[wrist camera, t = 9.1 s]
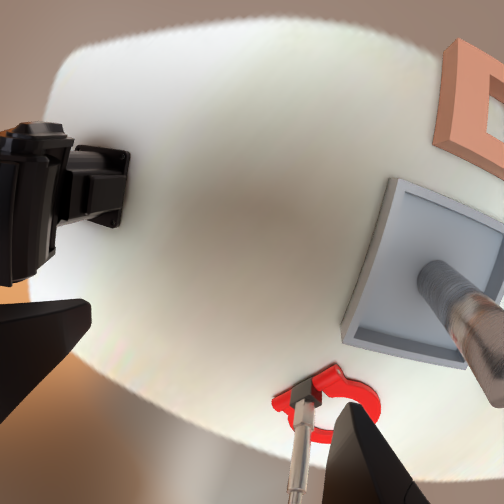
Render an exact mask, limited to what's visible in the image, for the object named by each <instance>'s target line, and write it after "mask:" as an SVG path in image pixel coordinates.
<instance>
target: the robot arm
mask: <svg viewBox="0 0 504 504" xmlns="http://www.w3.org/2000/svg"><path fill="white" fill-rule="evenodd" d="M74 140H75V139H74V138H71V137H68V136H67V135H66V134H65V133H64V131H63V127H62V124H59V123H51V122H24V123H20V124H19V125H17V126H16V127H15V128H11V129H8V130H4V131H1V132H0V286H5V287H11V286H12V283H17V282H20V281H23V280H25V279H27V278H30V277H32V276H34V275H35V274H36V273H37V269H39V268H40V267H41V266H42V265H43V264H44V263H46V262H47V261H48V260H49V259H50V258H51V257H53V256H54V255H55V251H56V247H55V238H56V228H57V227H59V226H63V225H67V224H71V223H75V222H79V221H83V220H89V221H92V222H94V223H97V224H100V225H103V226H106V227H110V228H117V227H118V226H119V225H120V218H121V210H122V204H123V197H124V190H125V183H126V176H127V170H128V164H129V159H130V154H129V152H128V151H124V150H117V149H109V148H102V147H94V146H86V145H78V146H76V148H75V151H70V150H71V146H73V143H74ZM79 150H80V151H79ZM123 155H125V157H124V159H123ZM113 220H114V221H115V224H114V223H113ZM91 323H92V318H91V305H90V303H89V302H87V301H85V300H84V299H68V300H56V301H43V302H29V303H15V304H0V424H1V423H2V422H3V421H4V420H5V419H6V417H8V415H9V414H10V413H11V412H12V411H13V410H14V409H15V408H16V407H17V406H18V405H19V403H20V402H22V401H23V399H24V398H25V397H26V396H27V395H28V394H29V393H30V392H31V391H32V390H33V389H34V388H35V387H36V386H37V385H38V384H39V383H40V382H41V381H42V380H43V379H44V378H45V377H46V376H47V375H48V374H49V373H50V372H51V371H52V370H53V369H54V368H55V367H56V366H57V365H58V364H59V363H60V362H61V361H62V360H63V359H64V358H65V357H66V356H67V355H68V354H69V352H70V351H71V350H72V349H73V348H74V346H75V345H76V344H77V343H78V342H79V340H80V339H81V338H82V337H83V336H84V334H85V333H86V332H87V331H88V330H89V328H90V327H91ZM322 504H430V502H429V501H428V500H427V499H426V497H425V496H424V494H423V493H422V492H421V490H420V489H419V487H418V486H417V485H416V483H415V482H414V481H413V479H412V477H411V476H410V474H409V473H408V472H407V470H406V469H405V467H404V466H403V464H402V463H401V461H400V460H399V458H398V457H397V456H396V454H395V453H394V451H393V450H392V448H391V447H390V445H389V444H388V442H387V441H386V440H385V438H384V437H383V435H382V434H381V432H380V431H379V429H378V428H377V427H376V425H375V424H374V422H373V421H372V419H371V418H370V416H369V415H368V413H367V412H366V411H365V409H364V408H363V406H362V405H361V404H358V403H354V402H348V403H347V404H346V406H345V407H344V409H343V410H342V412H341V413H340V415H339V417H338V418H337V420H336V422H335V426H334V431H333V436H332V441H331V446H330V450H329V455H328V460H327V464H326V473H325V483H324V491H323V499H322Z"/></svg>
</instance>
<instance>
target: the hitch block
mask: <svg viewBox="0 0 504 504" xmlns="http://www.w3.org/2000/svg"><path fill="white" fill-rule="evenodd" d="M489 95H491V96H492V97H494V98H495V99H497V100H499V101H500V102H502V103H503V104H504V64H502V63H501V62H499V61H498V60H496V59H495V58H493V57H491V56H490V55H488V54H487V53H485V52H483V51H481V50H480V49H478V48H476V47H475V46H473V45H471V44H469V43H467V42H465V41H464V40H462V39H460V38H457V39H456V40H455V41H454V42H453V43H452V44H451V45H450V46H449V47H448V48H447V49H446V50H445V51H444V52H443V65H442V78H441V89H440V98H439V106H438V113H437V120H436V126H435V132H434V138H433V144H432V145H434V146H436V147H439V148H441V149H443V150H445V151H448V152H450V153H452V154H454V155H456V156H458V157H460V158H462V159H464V160H466V161H468V162H470V163H472V164H474V165H476V166H478V167H480V168H482V169H484V170H486V171H488V172H489V173H491V174H493V175H495V176H497V177H498V178H500V179H502V180H503V181H504V143H503V142H501V141H500V140H498V139H496V138H495V137H493V136H491V135H490V134H488V133H486V129H487V119H488V106H489Z"/></svg>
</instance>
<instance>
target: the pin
mask: <svg viewBox="0 0 504 504" xmlns="http://www.w3.org/2000/svg"><path fill="white" fill-rule="evenodd" d="M417 288H418V291H419V293H420V294H421V296H422V297H423V298H424V300H425V301H426V303H427V304H428V305H429V307H430V308H431V309H432V311H433V312H434V314H435V315H436V317H437V318H438V319H439V321H440V322H441V324H442V325H443V327H444V328H445V330H446V331H447V333H448V334H449V336H450V337H451V339H452V340H453V342H454V343H455V345H456V346H457V348H458V349H459V351H460V353H461V354H462V356H463V357H464V359H465V361H466V362H467V364H468V365H469V367H470V369H471V370H472V372H473V374H474V375H475V377H476V379H477V381H478V382H479V384H480V386H481V388H482V389H483V391H484V393H485V395H486V397H487V398H488V400H489V402H490V404H491V405H492V406H493V407H495V408H504V310H503V309H502V308H501V307H500V306H499V305H498V304H497V303H495V302H494V301H493V300H492V299H491V298H490V297H488V296H487V295H486V294H485V293H484V292H483V291H481V290H480V289H479V288H478V287H477V286H475V285H474V284H473V283H472V282H470V281H469V280H468V279H467V278H465V277H464V276H463V275H462V274H460V273H459V272H458V271H456V270H455V269H454V268H453V267H451V266H450V265H449V264H447V263H446V262H444V261H442V260H433V261H430V262H428V263H427V264H425V265H424V266H423V267H422V269H421V270H420V272H419V274H418V277H417Z"/></svg>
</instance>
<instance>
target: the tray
mask: <svg viewBox="0 0 504 504" xmlns="http://www.w3.org/2000/svg"><path fill="white" fill-rule="evenodd" d="M433 260H442V261H444V262H446V263H447V264H449V265H450V266H451V267H453V268H454V269H455V270H456V271H458V272H459V273H460V274H462V275H463V276H464V277H465V278H467V279H468V280H469V281H470V282H472V283H473V284H474V285H475V286H477V287H478V288H479V289H480V290H481V291H483V292H484V293H485V294H486V295H487V296H488V297H490V298H491V299H492V300H493V301H494V302H495V303H497V304H498V305H499V304H500V302H501V300H502V297H503V295H504V224H503V223H501V222H499V221H497V220H495V219H493V218H491V217H489V216H487V215H485V214H483V213H481V212H479V211H477V210H475V209H473V208H470V207H468V206H466V205H464V204H462V203H459V202H457V201H455V200H453V199H450V198H448V197H446V196H443V195H441V194H439V193H436V192H434V191H431V190H429V189H426V188H424V187H421V186H419V185H416V184H413V183H411V182H408V181H405V180H403V179H400V178H389V180H388V184H387V188H386V192H385V196H384V199H383V203H382V207H381V210H380V214H379V217H378V220H377V224H376V227H375V230H374V234H373V237H372V240H371V243H370V246H369V249H368V252H367V255H366V258H365V261H364V264H363V267H362V270H361V273H360V276H359V279H358V281H357V284H356V287H355V290H354V292H353V295H352V298H351V300H350V303H349V305H348V308H347V310H346V313H345V316H344V318H343V320H342V323H341V325H340V329H341V339H342V343H343V344H347V345H351V346H355V347H359V348H363V349H367V350H371V351H375V352H379V353H384V354H388V355H392V356H397V357H401V358H406V359H410V360H415V361H420V362H425V363H430V364H435V365H440V366H445V367H451V368H456V369H462V370H466V368H467V366H468V364H467V362H466V361H465V359H464V357H463V356H462V354H461V353H460V351H459V349H458V348H457V346H456V345H455V343H454V342H453V340H452V339H451V337H450V336H449V334H448V333H447V331H446V330H445V328H444V327H443V325H442V324H441V322H440V321H439V319H438V318H437V317H436V315H435V314H434V312H433V311H432V309H431V308H430V307H429V305H428V304H427V303H426V301H425V300H424V298H423V297H422V296H421V294H420V293H419V291H418V288H417V277H418V274H419V272H420V270H421V269H422V267H423V266H424V265H425V264H427V263H428V262H430V261H433Z"/></svg>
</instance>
